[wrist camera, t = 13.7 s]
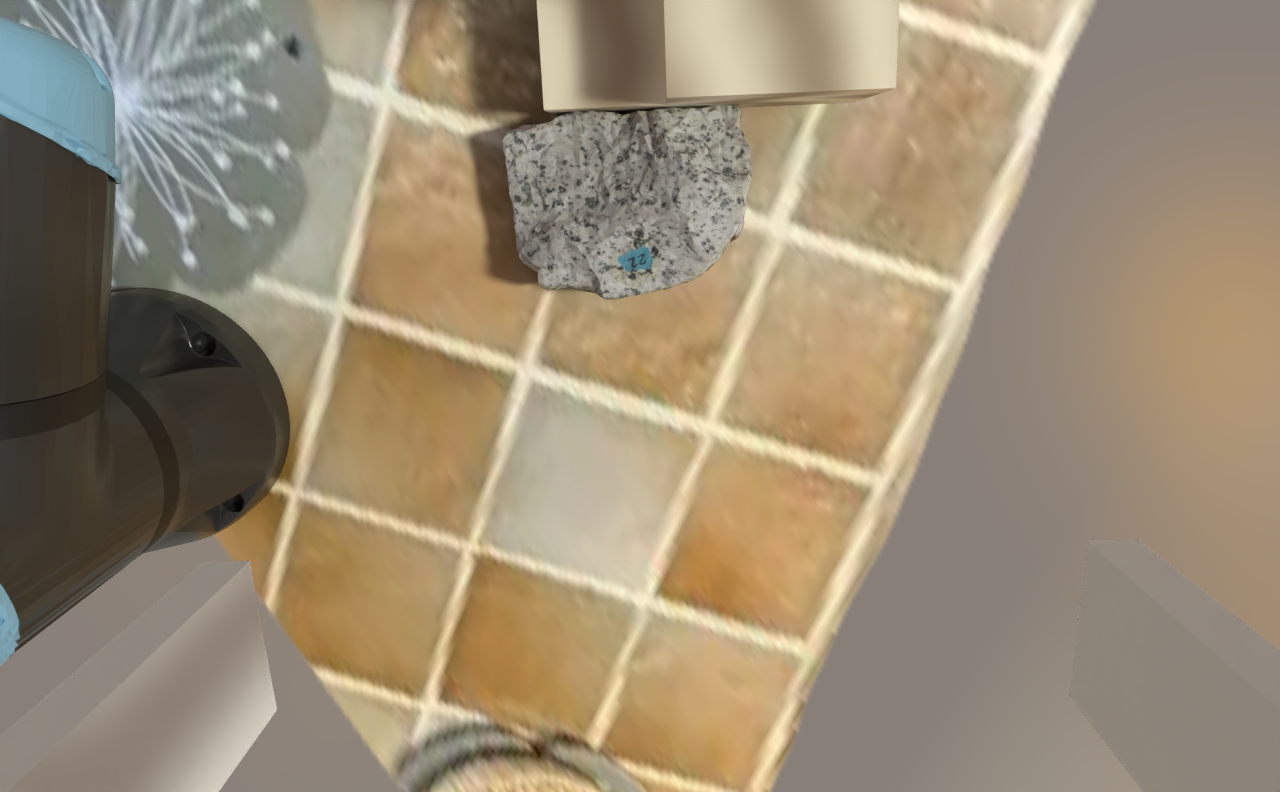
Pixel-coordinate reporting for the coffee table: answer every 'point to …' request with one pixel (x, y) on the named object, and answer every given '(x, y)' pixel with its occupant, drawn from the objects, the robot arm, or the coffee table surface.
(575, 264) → the rock
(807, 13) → the stand
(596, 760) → the coffee table surface
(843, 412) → the coffee table surface
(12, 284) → the robot arm
